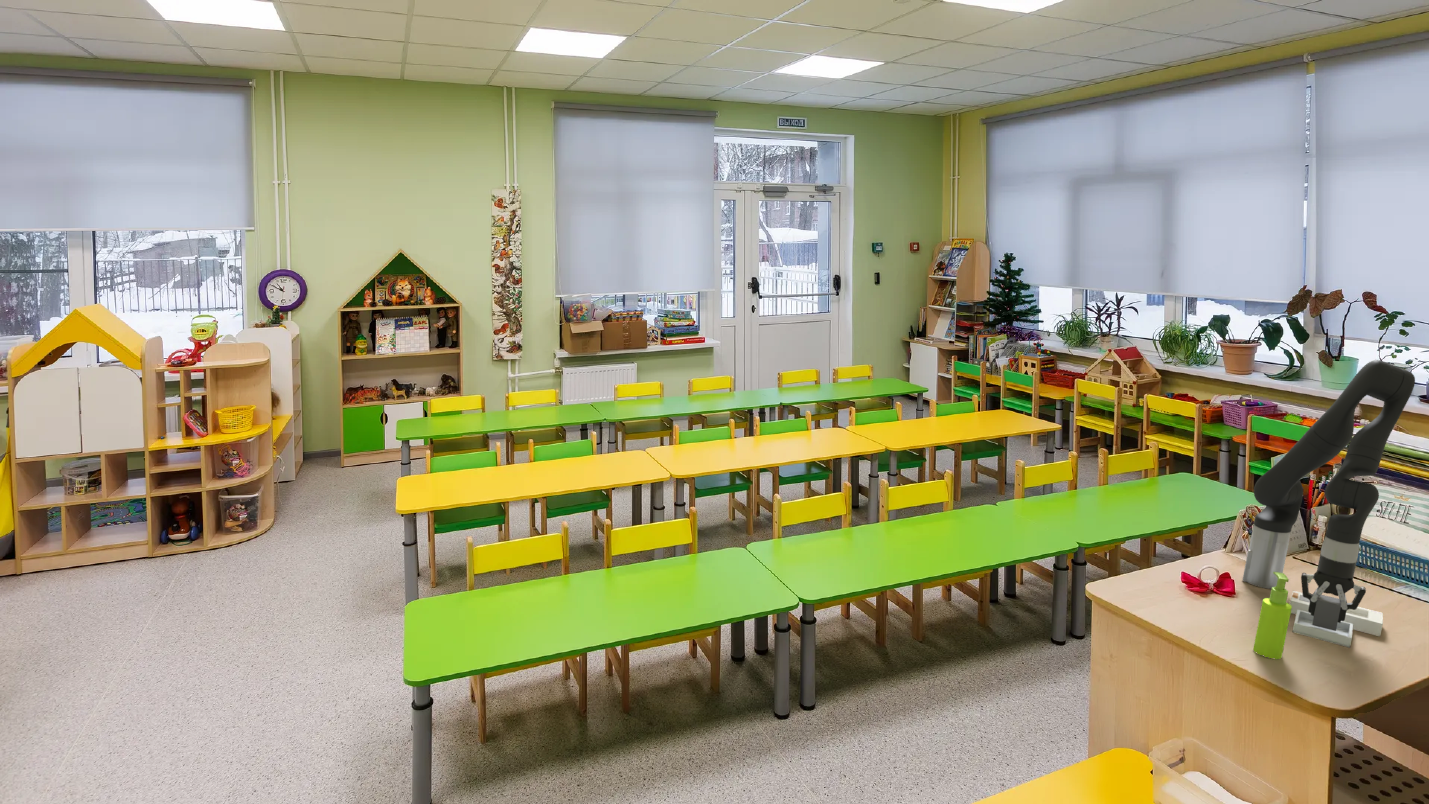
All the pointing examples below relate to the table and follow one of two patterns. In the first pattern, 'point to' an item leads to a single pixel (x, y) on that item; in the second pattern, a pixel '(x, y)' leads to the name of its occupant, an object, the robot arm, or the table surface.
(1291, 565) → the table surface
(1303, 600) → the power strip
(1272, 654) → the soap dispenser
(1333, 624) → the block
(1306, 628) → the tray
